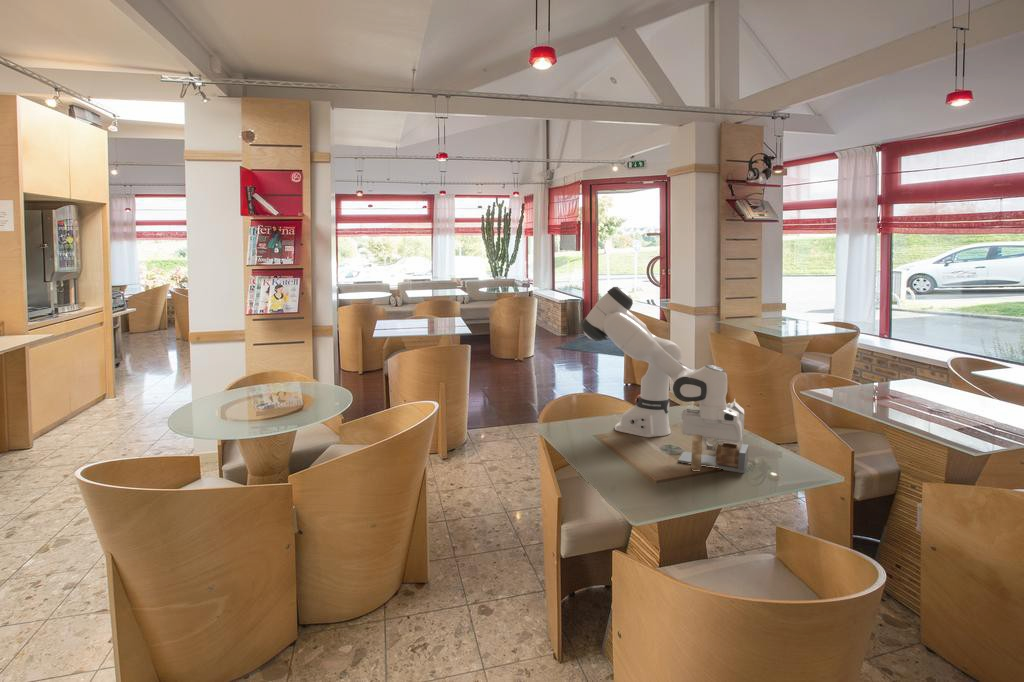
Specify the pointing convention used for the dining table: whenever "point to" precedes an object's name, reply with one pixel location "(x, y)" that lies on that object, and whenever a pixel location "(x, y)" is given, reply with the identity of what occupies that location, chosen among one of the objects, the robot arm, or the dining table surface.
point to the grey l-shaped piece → (711, 461)
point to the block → (728, 453)
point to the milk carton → (741, 418)
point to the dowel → (696, 452)
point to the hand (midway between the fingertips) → (710, 449)
